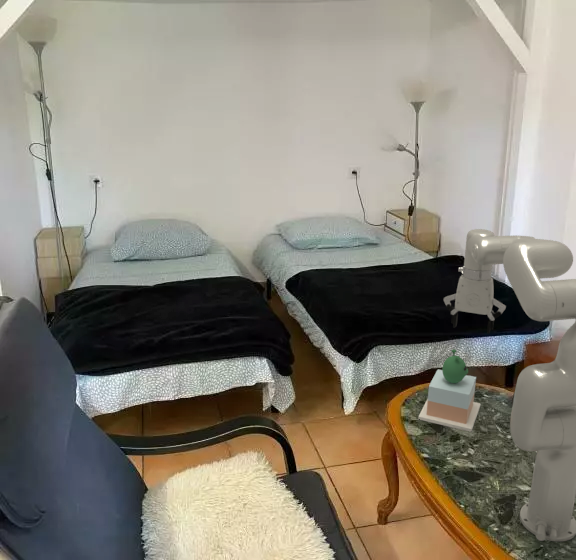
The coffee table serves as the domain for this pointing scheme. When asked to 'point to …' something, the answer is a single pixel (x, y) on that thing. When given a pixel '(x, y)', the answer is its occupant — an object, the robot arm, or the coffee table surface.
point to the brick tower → (451, 403)
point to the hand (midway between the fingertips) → (471, 328)
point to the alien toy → (454, 368)
